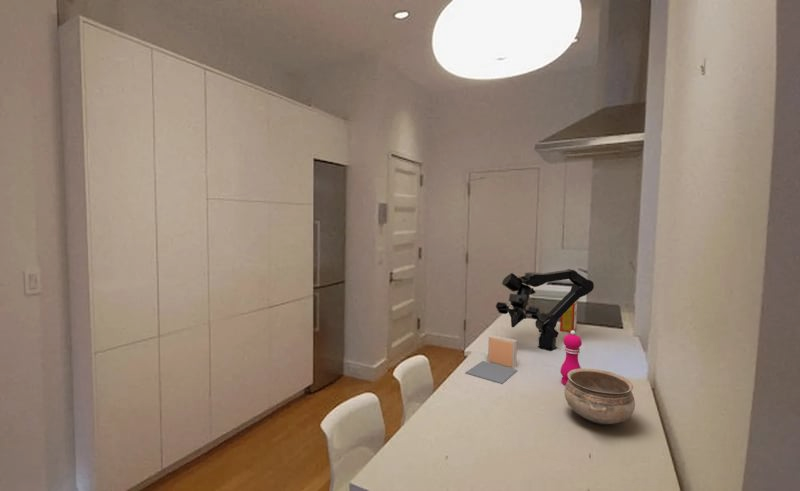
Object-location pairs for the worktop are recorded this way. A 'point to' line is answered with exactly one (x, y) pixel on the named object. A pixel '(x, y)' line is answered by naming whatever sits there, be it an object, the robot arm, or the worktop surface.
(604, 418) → the cooking pot
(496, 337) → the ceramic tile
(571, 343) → the pepper mill
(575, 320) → the baking soda box
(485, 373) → the slate mat
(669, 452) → the worktop surface
